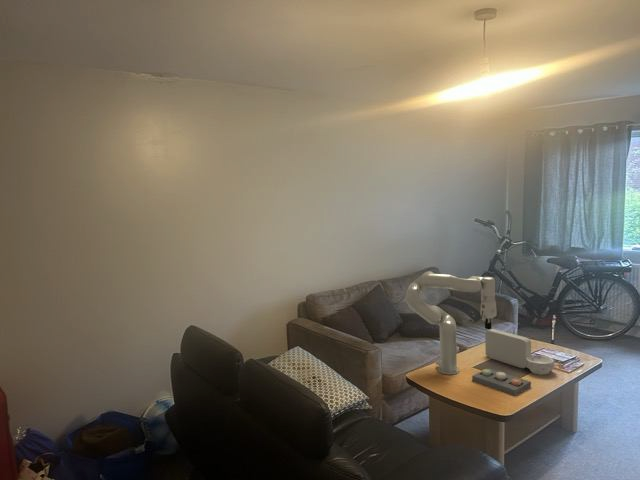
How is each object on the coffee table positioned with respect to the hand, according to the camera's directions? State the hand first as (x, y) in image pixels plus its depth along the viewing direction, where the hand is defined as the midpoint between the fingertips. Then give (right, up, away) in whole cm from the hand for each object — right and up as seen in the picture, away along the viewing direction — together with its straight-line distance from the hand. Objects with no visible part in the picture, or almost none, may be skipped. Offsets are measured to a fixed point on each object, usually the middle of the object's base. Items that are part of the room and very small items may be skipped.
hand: (488, 328), depth 268 cm
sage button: (-3, -26, -5) cm, 26 cm away
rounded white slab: (+19, -25, +19) cm, 36 cm away
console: (+3, -29, -12) cm, 31 cm away
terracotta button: (+8, -27, -20) cm, 34 cm away
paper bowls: (+31, -26, +2) cm, 41 cm away
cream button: (+3, -25, -13) cm, 28 cm away
